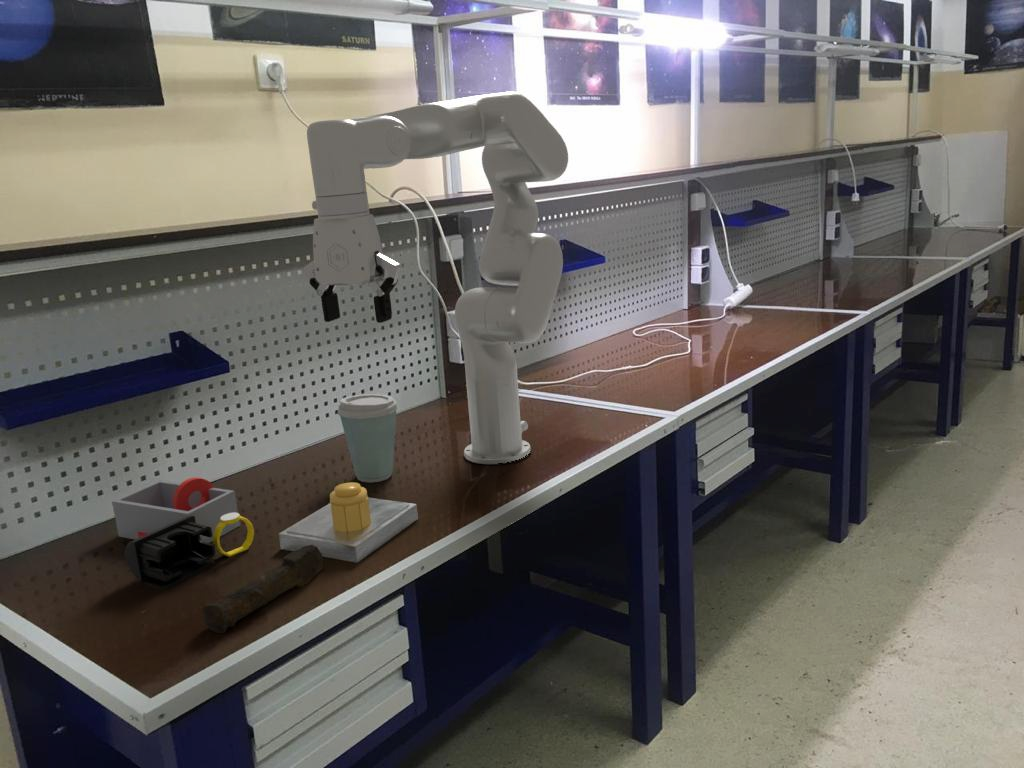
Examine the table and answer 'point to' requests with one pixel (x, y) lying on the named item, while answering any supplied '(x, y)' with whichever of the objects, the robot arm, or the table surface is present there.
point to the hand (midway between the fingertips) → (358, 320)
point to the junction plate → (354, 544)
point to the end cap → (170, 554)
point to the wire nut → (350, 507)
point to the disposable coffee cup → (370, 434)
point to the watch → (231, 519)
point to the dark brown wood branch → (264, 588)
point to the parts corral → (170, 509)
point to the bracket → (186, 490)
